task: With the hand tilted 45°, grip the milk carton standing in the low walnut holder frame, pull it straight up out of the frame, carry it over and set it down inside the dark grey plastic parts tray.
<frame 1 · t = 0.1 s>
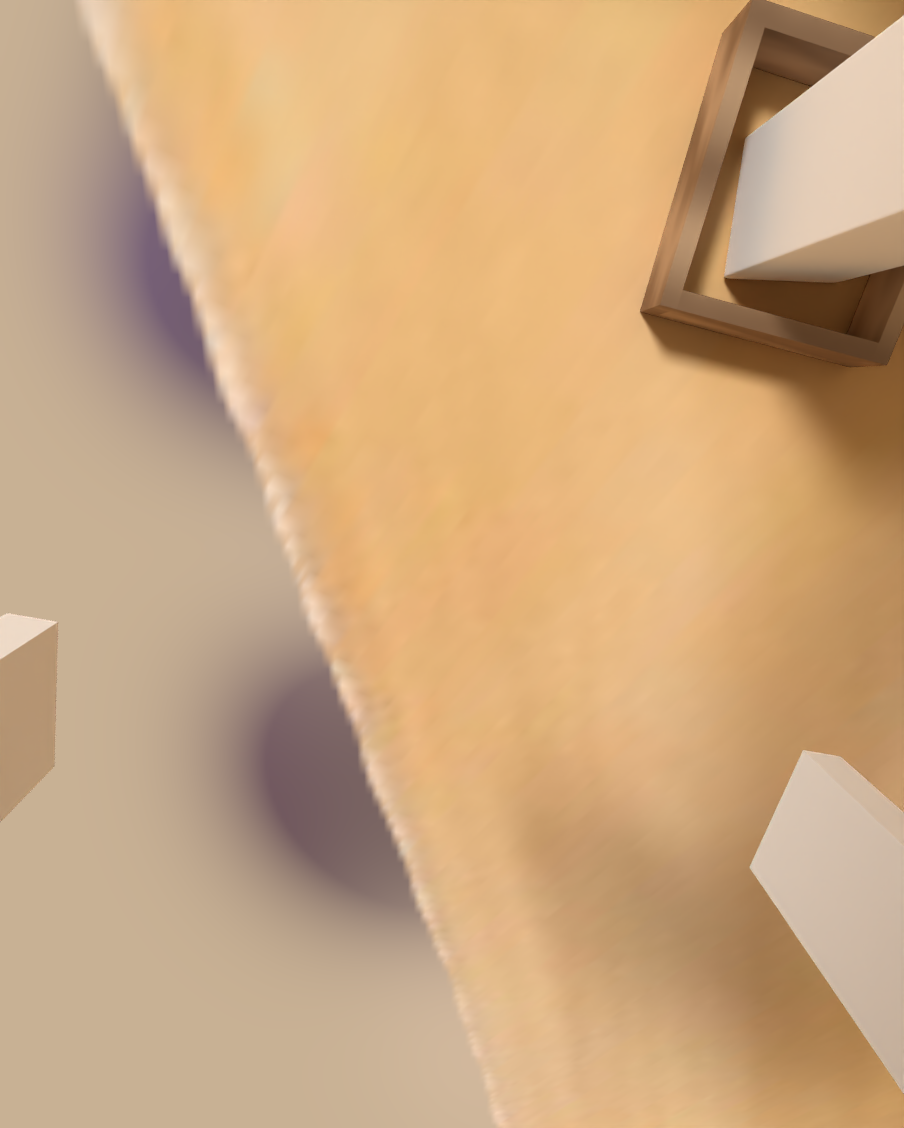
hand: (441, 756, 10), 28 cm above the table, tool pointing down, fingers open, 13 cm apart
holder frame: (791, 213, 33), on the table
milk carton: (788, 214, 33), resting in holder frame
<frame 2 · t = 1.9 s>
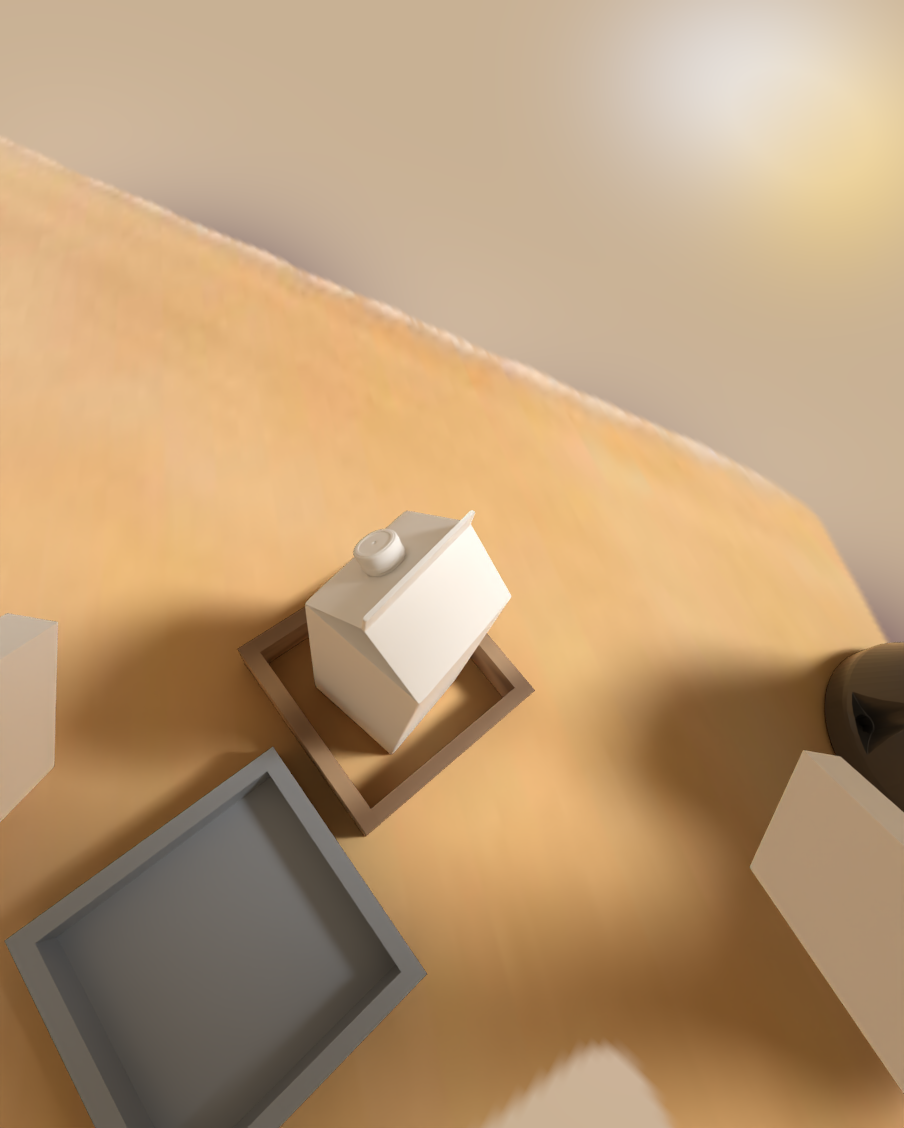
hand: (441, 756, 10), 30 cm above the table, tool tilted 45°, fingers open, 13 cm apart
holder frame: (387, 682, 40), on the table
milk carton: (387, 683, 41), resting in holder frame
parts tray: (233, 949, 32), on the table
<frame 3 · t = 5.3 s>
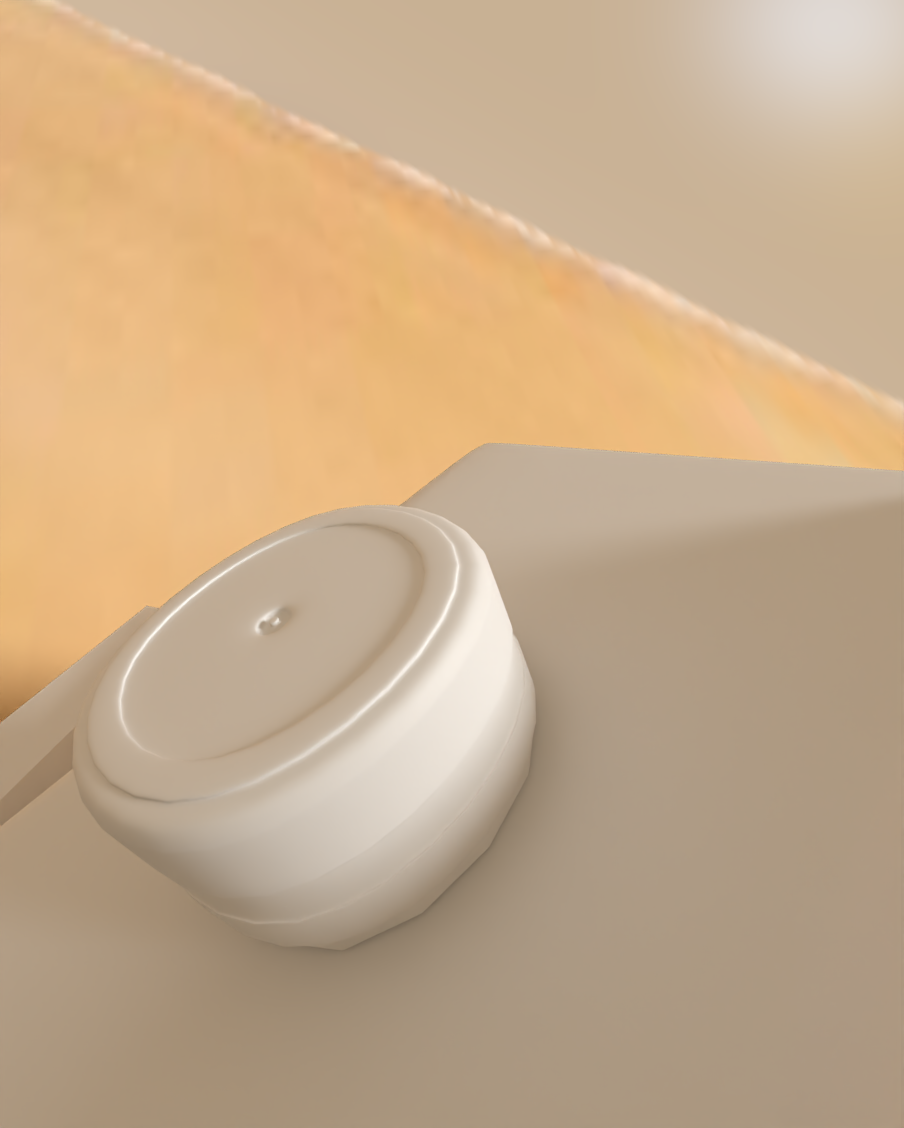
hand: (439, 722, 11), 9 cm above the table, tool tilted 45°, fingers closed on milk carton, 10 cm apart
milk carton: (376, 885, 18), resting in holder frame, touching gripper
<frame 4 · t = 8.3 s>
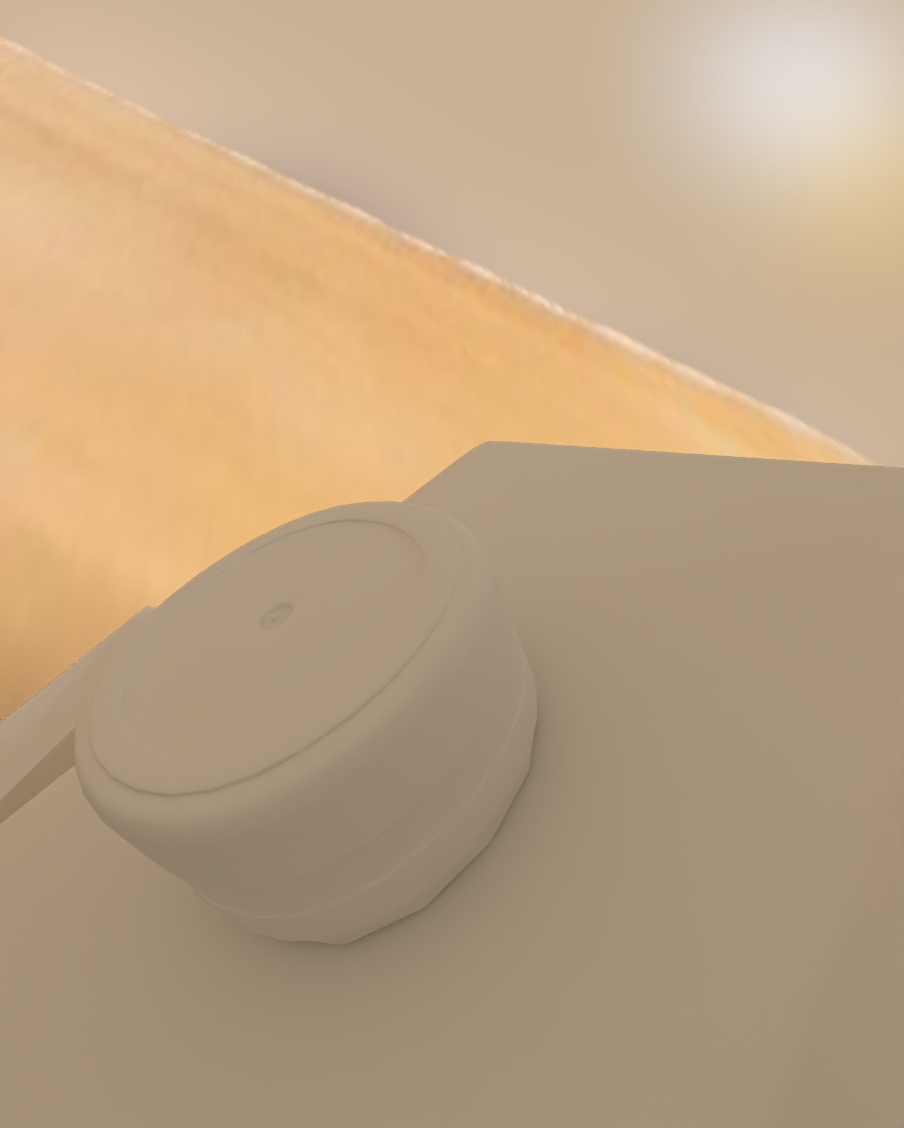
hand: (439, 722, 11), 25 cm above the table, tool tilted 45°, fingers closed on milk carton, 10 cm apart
milk carton: (376, 885, 18), point 16 cm above the table, touching gripper
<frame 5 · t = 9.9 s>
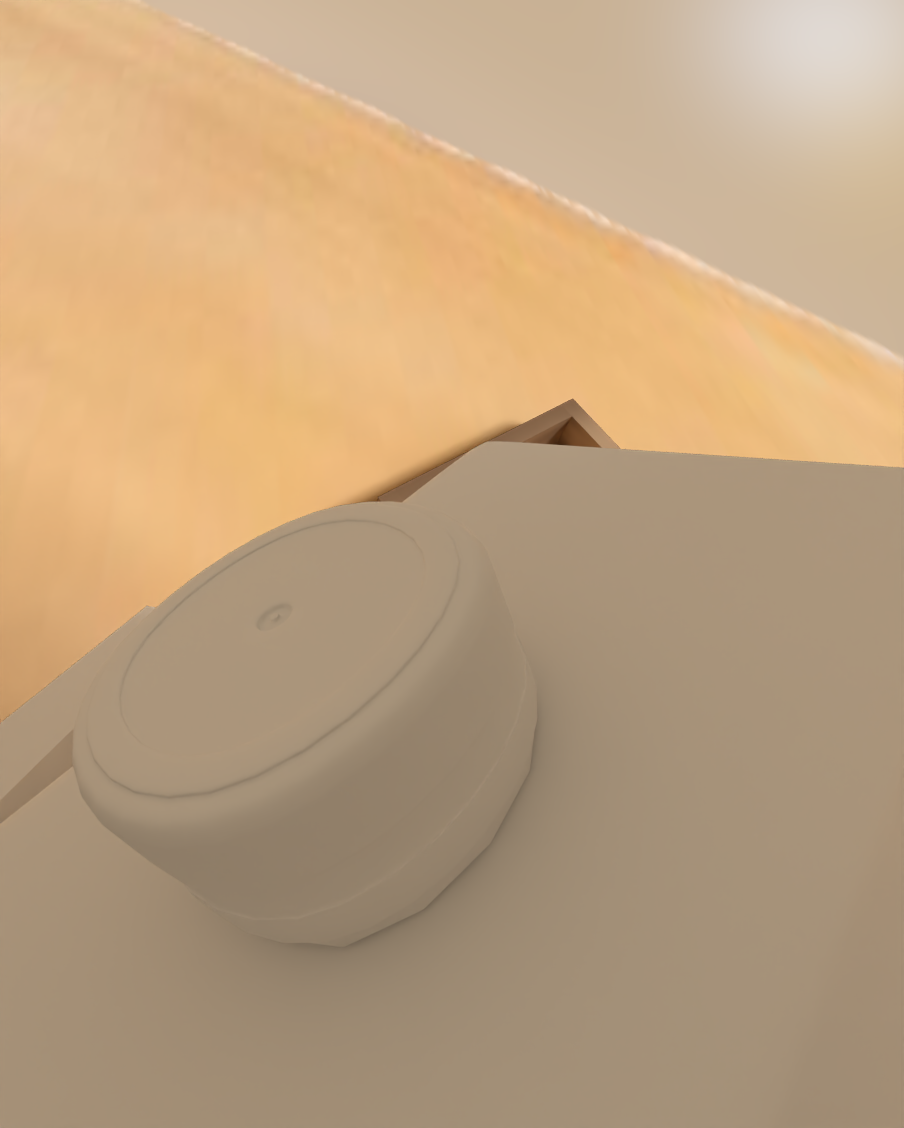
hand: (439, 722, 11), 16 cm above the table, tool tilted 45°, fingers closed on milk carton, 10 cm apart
holder frame: (547, 564, 32), on the table
milk carton: (376, 885, 18), point 7 cm above the table, touching gripper
when the fingers open (11 cm above the table, at t = 11.5 s): milk carton drops 1 cm, resting on parts tray.
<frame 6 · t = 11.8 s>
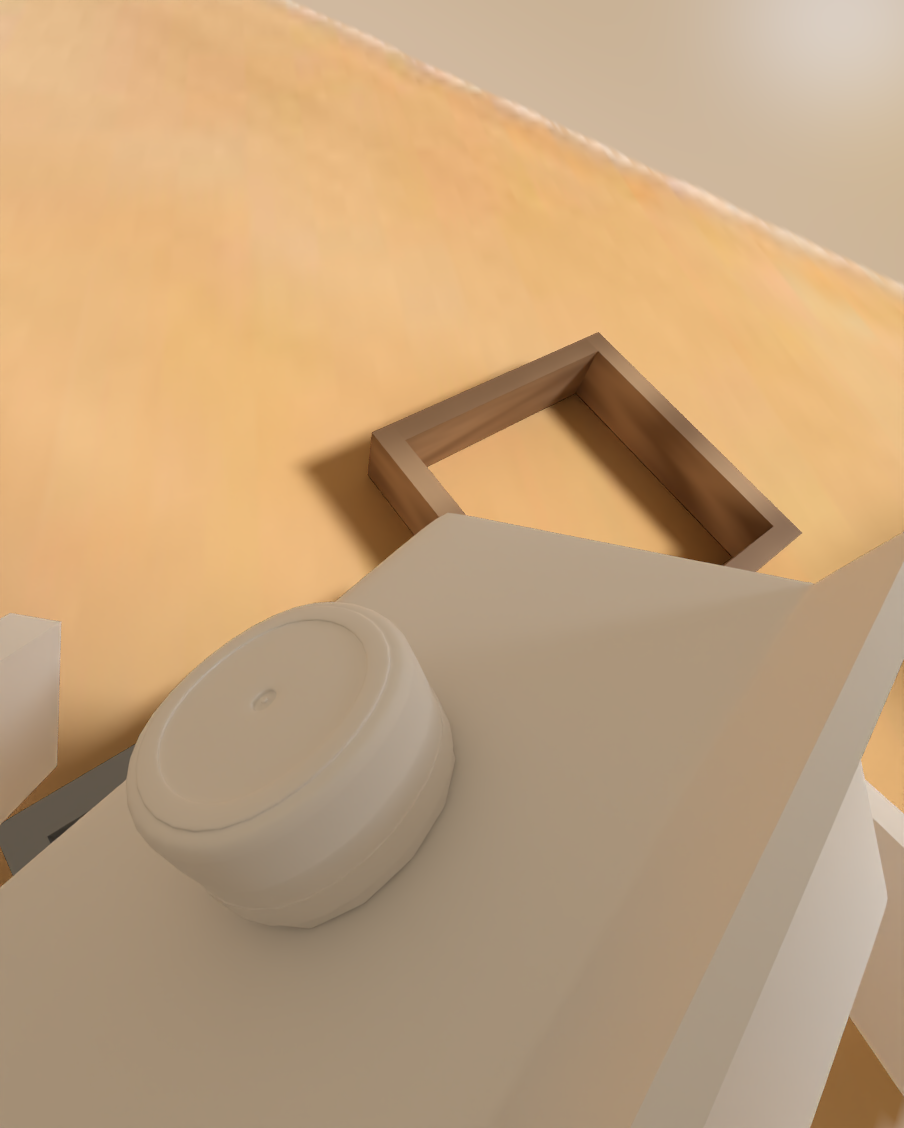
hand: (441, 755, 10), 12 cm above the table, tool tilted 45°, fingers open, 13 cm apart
holder frame: (570, 520, 28), on the table
milk carton: (369, 887, 19), resting on parts tray
parts tray: (372, 883, 19), on the table
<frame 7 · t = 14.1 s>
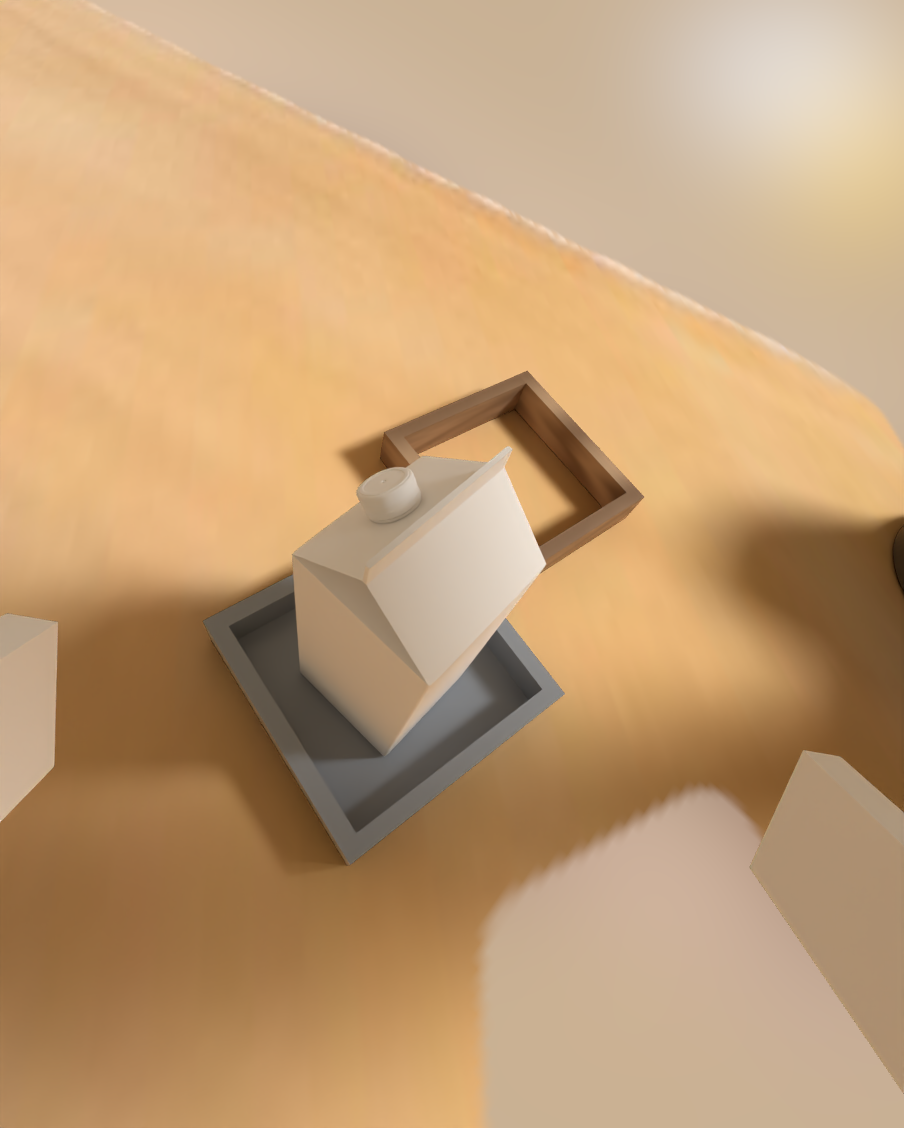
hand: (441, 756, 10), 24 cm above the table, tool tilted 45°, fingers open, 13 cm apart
holder frame: (506, 489, 44), on the table
milk carton: (383, 674, 35), resting on parts tray
parts tray: (385, 674, 36), on the table
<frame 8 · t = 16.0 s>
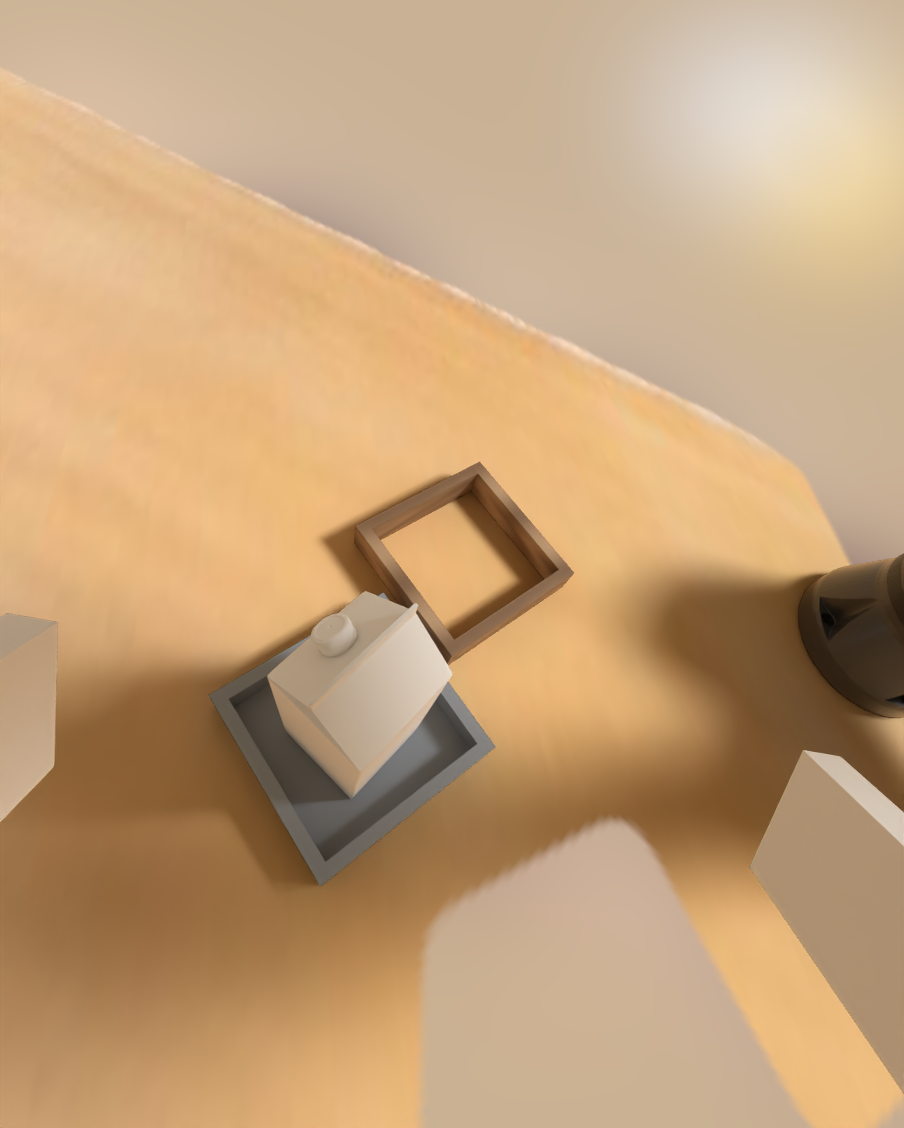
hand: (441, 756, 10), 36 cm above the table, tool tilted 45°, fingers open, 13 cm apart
holder frame: (460, 565, 53), on the table
milk carton: (352, 730, 44), resting on parts tray
parts tray: (354, 729, 44), on the table
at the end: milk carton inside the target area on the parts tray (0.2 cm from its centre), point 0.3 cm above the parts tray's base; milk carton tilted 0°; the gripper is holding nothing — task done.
